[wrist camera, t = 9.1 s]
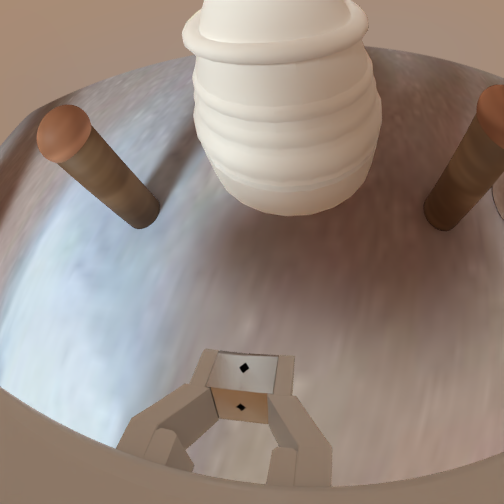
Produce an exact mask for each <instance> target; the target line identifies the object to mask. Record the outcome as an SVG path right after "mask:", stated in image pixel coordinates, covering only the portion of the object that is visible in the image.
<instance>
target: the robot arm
mask: <svg viewBox="0 0 504 504" xmlns="http://www.w3.org/2000/svg"><path fill="white" fill-rule="evenodd" d="M294 362H295V356H286V355H266V354H250V353H249V354H246V353H237V352H229V351H221V350H220V351H219V350H212V349H205V350H204V351H203V352H202V354H201V357H200V359H199V362H198V364H197V366H196V369H195V371H194V373H193V376H192V378H191V381H190V383H189V384H184V385H182V386H181V387H179V388H178V389H176V390H175V391H173V392H172V393H170V394H169V395H167V396H166V397H164V398H163V399H161V400H159V401H158V402H156V403H155V404H153V405H152V406H150V407H149V408H147V409H145V410H144V411H142V412H141V413H139V414H137V415H136V416H134V417H132V418H131V420H130V422H129V424H128V426H127V428H126V430H125V432H124V434H123V436H122V438H121V439H120V441H119V443H118V445H117V447H116V449H115V448H112V447H110V446H107V445H105V444H102V443H100V442H98V441H95V440H93V439H91V438H89V437H86V436H84V435H82V434H80V433H78V432H76V431H74V430H72V429H70V428H68V427H66V426H64V425H62V424H60V423H58V422H56V421H54V420H53V419H51V418H49V417H47V416H45V415H44V414H42V413H40V412H39V411H37V410H35V409H34V408H32V407H30V406H29V405H27V404H25V403H24V402H22V401H21V400H19V399H18V398H16V397H15V396H13V395H12V394H10V393H9V392H7V391H6V390H4V389H3V388H2V387H0V504H504V452H502V453H500V454H497V455H494V456H492V457H489V458H486V459H484V460H481V461H478V462H475V463H472V464H469V465H465V466H462V467H459V468H455V469H451V470H448V471H444V472H440V473H436V474H431V475H427V476H422V477H417V478H412V479H406V480H400V481H394V482H386V483H378V484H369V485H357V486H339V487H331V476H332V447H331V445H330V444H329V442H328V441H327V440H326V438H325V437H324V435H323V434H322V433H321V431H320V430H319V428H318V427H317V426H316V424H315V423H314V421H313V420H312V418H311V417H310V416H309V414H308V413H307V411H306V410H305V408H304V407H303V405H302V404H301V402H300V401H299V400H298V398H297V397H296V396H292V393H293V378H294ZM218 418H219V419H227V420H236V421H245V422H253V423H261V424H269V427H270V429H271V431H272V433H273V435H274V437H275V439H276V441H277V443H278V445H279V447H277V448H275V449H274V450H272V455H271V461H270V466H269V472H268V477H267V482H266V484H257V483H248V482H241V481H234V480H228V479H222V478H216V477H211V476H206V475H201V474H197V473H192V471H193V467H194V464H193V462H192V461H191V459H190V457H189V456H188V454H187V452H186V451H185V450H186V449H187V448H188V447H189V446H190V445H192V444H193V443H194V442H195V441H196V440H197V439H198V438H200V437H201V436H202V435H203V434H204V433H205V432H206V431H207V430H208V429H209V428H211V427H212V426H213V425H214V424H215V423H216V422H217V421H218V420H219V419H218Z"/></svg>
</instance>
